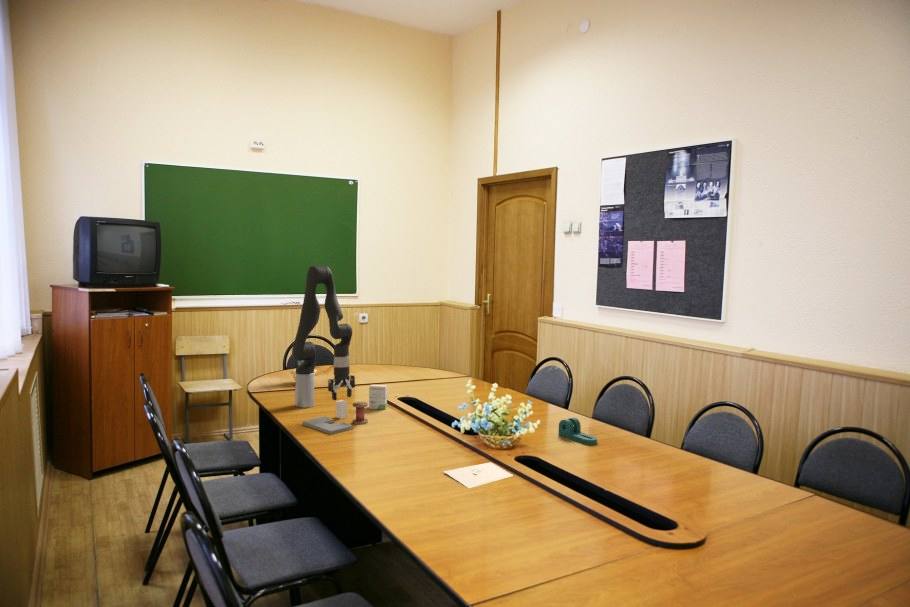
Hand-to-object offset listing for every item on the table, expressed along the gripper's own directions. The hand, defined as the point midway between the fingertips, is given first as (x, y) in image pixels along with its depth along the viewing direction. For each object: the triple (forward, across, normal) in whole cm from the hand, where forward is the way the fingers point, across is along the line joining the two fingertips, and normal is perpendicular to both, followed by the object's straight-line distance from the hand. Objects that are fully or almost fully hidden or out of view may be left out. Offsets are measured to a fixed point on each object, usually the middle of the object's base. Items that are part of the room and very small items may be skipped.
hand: (341, 398), depth 289 cm
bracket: (+11, -53, +100) cm, 113 cm away
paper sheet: (+12, +12, +102) cm, 103 cm away
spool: (+10, -1, +13) cm, 16 cm away
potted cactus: (+8, -29, -76) cm, 82 cm away
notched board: (+10, +14, +8) cm, 19 cm away
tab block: (+9, 0, 0) cm, 9 cm away
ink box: (+10, -24, -1) cm, 26 cm away
